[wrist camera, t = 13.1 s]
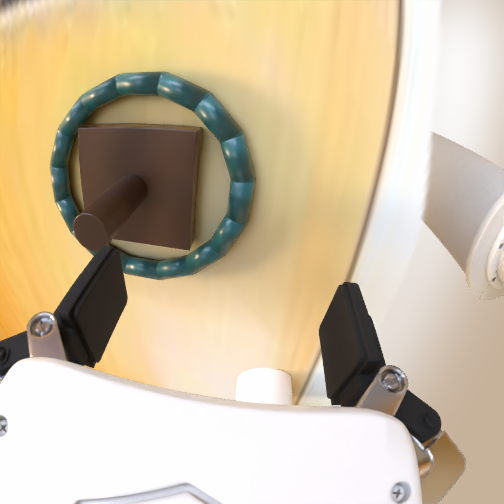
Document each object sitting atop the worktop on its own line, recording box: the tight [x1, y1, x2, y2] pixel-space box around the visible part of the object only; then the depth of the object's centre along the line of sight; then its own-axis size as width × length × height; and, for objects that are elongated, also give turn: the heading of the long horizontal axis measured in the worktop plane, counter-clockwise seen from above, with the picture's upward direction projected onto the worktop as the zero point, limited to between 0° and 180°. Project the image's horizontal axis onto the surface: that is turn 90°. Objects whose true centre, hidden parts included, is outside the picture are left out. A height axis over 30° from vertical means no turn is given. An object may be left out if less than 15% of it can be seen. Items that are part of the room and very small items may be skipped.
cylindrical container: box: [236, 368, 293, 405], centre depth 24 cm, size 7×7×25 cm
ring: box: [50, 72, 255, 280], centre depth 19 cm, size 17×17×2 cm
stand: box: [73, 124, 202, 251], centre depth 16 cm, size 9×9×8 cm
